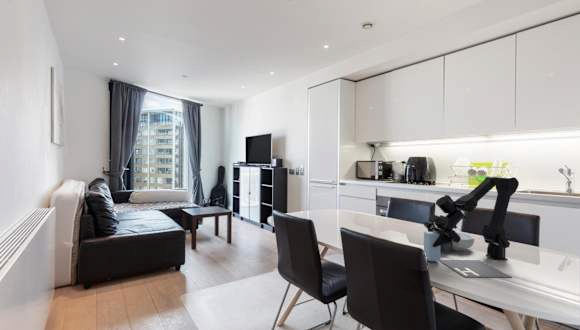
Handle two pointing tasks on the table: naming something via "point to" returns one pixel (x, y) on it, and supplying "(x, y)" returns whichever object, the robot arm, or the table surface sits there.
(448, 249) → the box
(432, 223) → the robot arm
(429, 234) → the dusty blue block
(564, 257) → the table surface
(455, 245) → the cereal bowl
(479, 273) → the letter mat
